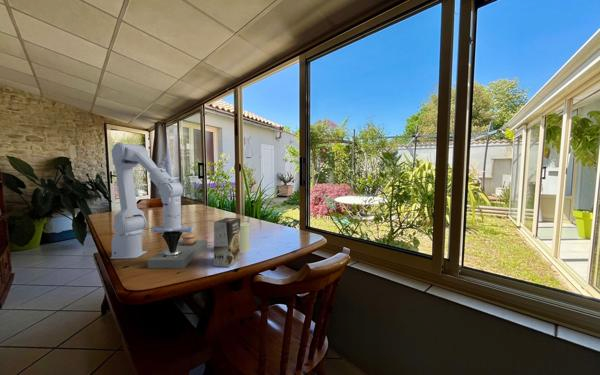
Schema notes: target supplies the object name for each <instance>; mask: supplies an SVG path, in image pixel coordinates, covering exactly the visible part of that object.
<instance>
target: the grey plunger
mask: <svg viewBox="0 0 600 375" xmlns="http://www.w3.org/2000/svg"><path fill="white" fill-rule="evenodd" d="M180 253H181V250H178V249H176V251H175V252H170V251H169V250H168V251H166V252H165V255H166V257H178V256H179V255H180Z"/></svg>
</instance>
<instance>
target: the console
mask: <svg viewBox="0 0 600 375" xmlns="http://www.w3.org/2000/svg"><path fill="white" fill-rule="evenodd" d="M207 248H208V239H206V240H203V239H202V240H199V239H198V240H196V239H194V245H190V246H184V245H183V239H182V240H180V239H179V241H178V244H177V248H176V249H178V250H181V253H180V255H179V256H178V257H166V255H165V252H166V251H168V250H169V248H168V247H166V248H165V249H164V250H161V251H160V252H159V253H156V254H155V255H154V256H152V257H149V258H148V259H147V269H184V268H185V267H186V266H188V264H190V263H191V262H192V261H193V260H194V259H195V258H197V257H198V256H199V255H200V254H201V253H202V252H203V251H205V250H206V249H207Z"/></svg>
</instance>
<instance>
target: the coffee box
mask: <svg viewBox="0 0 600 375" xmlns="http://www.w3.org/2000/svg"><path fill="white" fill-rule="evenodd" d="M240 222H241V218H240V217H239V218H238V217H225V218H221V219H218V220H215V221H213V266H214V267H221V268H222V267H223V268H230V267H232V266H233V265H234V264H236V263H237V262H238V261H240V260H241V253H240Z"/></svg>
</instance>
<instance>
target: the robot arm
mask: <svg viewBox="0 0 600 375" xmlns="http://www.w3.org/2000/svg"><path fill="white" fill-rule="evenodd" d="M110 151H111V157H112V163H113V164H112V165H113V166H114V170H115V175H116V176H115V177H116V182H117V191H118V192H117V193H118V198H119V205H120V206H119V207H120V210H119V211H118V212H117V213H116V214H114V216H113V219H114V221H113V225H112V226H113V230H114V232H115V234H114V236H112V239H111V256H110V259H113V260H114V259H115V260H116V259H120V260H121V259H137V258H139V257H141V256H143V255H145V254H147V253H148V251H147V250H143V235H142V234H143V232H144V230H145V229H146V228H147V225H148V222H147V219H146V216H145V214H144V211H143V210H141V209H139V208H138V205H137V197H136V191H135V190H136V189H135V183H134V175H133V169H134V167H137V166H138V165H140V166H141V167H142V168H143V169H144V170H145V171H146V172H147V173H148V177H149V180H150V181H151V182H153V184H154V185H155V186H156V187H157V188H158V189H159V190H158V194H159V197H160V198H161V204H162V207H163V210H162V211H163V212H162V213H163V215H162V218H163V219H162V220H163V226H162V225H160V226H159V225H158V226H157V225H155V226H151V227H150V233H151V234H153V233H162V235H161V236H162V238H163V240H164V241H165V243H166V244H167V248H169V251H170V252H175V251H176V248H177V244H178V241H180V238H182V235H183V233H188V234H193V233H194V231H195V228H194V226H192V225H191V226H187V225H182V201H181V200H182V197H183V196H184V193H185V187H184V184H182V182H181V181H176V180H175V179H174V178H173V177H171V176H170V174H169V173H168V172H167V169H165V168H162V167H158V166H157V165H156V163H155V162H154V161H153V160H152V158H151V157H150V156H149V150H148V149H147V148H146V147H145V146H144V145H141V144H139V145H138V144H130V143H129V144H128V143H122V142H116V143H115V144H114V145H113V147H112V148H111V150H110Z"/></svg>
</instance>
